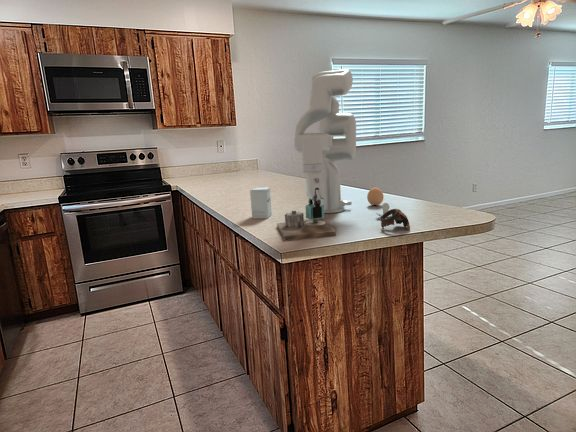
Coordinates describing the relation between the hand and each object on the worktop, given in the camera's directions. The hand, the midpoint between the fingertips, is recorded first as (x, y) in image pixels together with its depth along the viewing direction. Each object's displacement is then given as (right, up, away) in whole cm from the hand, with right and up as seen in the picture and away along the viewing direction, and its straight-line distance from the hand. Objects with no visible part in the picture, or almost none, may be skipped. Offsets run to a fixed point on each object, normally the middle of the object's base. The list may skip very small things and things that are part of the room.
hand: (315, 215), depth 149 cm
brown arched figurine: (+29, -5, -7) cm, 30 cm away
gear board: (-4, -6, -4) cm, 8 cm away
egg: (+30, +4, +34) cm, 46 cm away
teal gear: (0, -1, 0) cm, 1 cm away
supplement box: (-22, -1, +25) cm, 33 cm away
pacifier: (+29, -2, +8) cm, 30 cm away
